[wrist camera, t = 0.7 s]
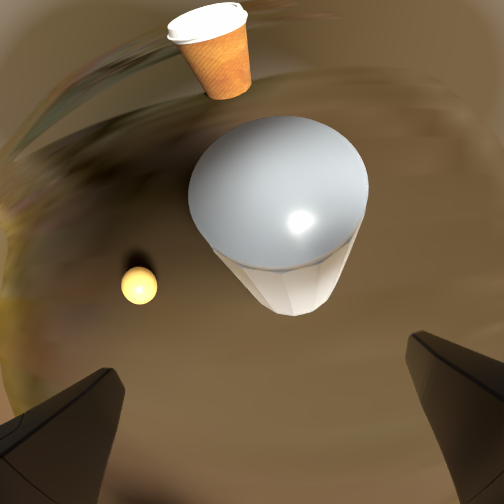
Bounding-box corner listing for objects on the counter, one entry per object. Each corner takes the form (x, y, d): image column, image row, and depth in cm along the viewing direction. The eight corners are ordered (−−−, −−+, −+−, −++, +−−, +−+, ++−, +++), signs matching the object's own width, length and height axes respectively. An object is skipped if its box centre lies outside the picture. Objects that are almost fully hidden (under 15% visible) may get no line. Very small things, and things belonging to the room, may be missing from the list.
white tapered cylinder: (307, 332, 20) (312, 306, 8) (232, 285, 22) (155, 211, 10) (351, 255, 21) (391, 152, 9) (278, 217, 23) (251, 101, 12)
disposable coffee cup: (220, 116, 30) (187, 34, 19) (183, 94, 33) (152, 29, 22) (278, 81, 30) (262, 4, 19) (235, 64, 34) (215, 0, 23)
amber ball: (150, 314, 22) (130, 307, 19) (129, 294, 24) (108, 285, 21) (169, 284, 23) (151, 274, 20) (147, 266, 24) (128, 255, 21)
